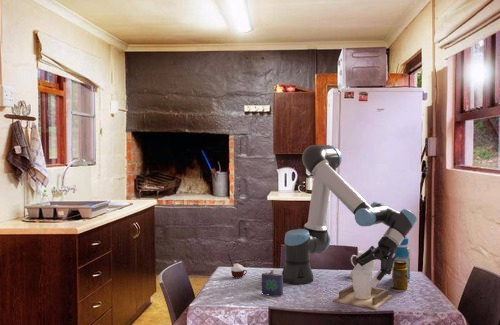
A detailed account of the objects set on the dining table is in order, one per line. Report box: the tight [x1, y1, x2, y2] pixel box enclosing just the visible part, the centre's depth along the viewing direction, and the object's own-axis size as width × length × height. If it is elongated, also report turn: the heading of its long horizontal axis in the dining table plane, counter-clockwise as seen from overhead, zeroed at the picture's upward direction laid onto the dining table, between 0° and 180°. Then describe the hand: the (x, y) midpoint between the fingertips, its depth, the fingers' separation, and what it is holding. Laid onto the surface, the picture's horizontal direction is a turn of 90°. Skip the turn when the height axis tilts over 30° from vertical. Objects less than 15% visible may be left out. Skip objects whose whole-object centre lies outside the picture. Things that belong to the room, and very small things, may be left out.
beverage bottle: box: [391, 236, 411, 282], centre depth 215 cm, size 8×8×20 cm
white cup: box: [351, 270, 373, 299], centre depth 187 cm, size 8×8×10 cm
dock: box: [332, 283, 393, 310], centre depth 186 cm, size 18×18×3 cm
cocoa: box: [226, 252, 248, 278], centre depth 223 cm, size 10×6×12 cm, turn 82°
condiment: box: [386, 260, 412, 293], centre depth 201 cm, size 7×8×12 cm
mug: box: [350, 249, 376, 273], centre depth 224 cm, size 12×8×11 cm
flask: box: [261, 269, 284, 295], centre depth 194 cm, size 9×3×11 cm, turn 74°
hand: (361, 281), depth 186 cm, fingers open, 13 cm apart
